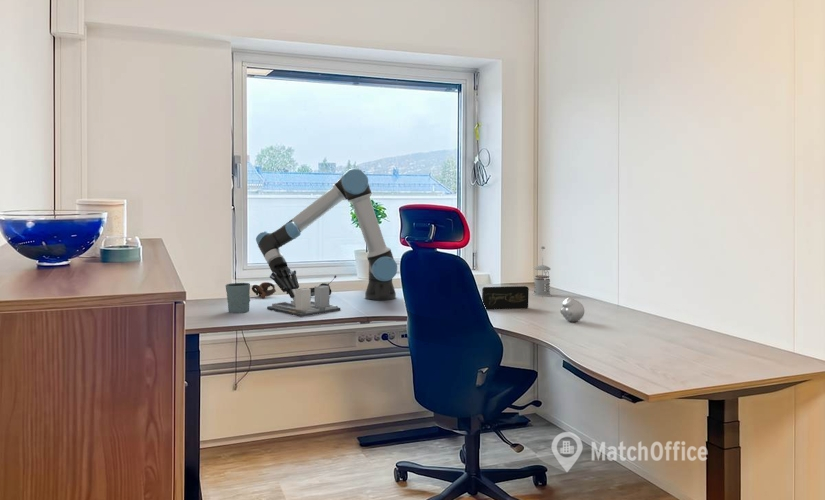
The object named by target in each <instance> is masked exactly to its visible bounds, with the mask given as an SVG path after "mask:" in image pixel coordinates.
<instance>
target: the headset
mask: <svg viewBox="0 0 825 500" xmlns="http://www.w3.org/2000/svg"><path fill="white" fill-rule="evenodd" d="M334 279H337V275H334V276H333V279H332V280H331V281H330V282H329V283H326V282H324V283H320V284H319V285H318V286H329V296H331V294H332V289H331V286H330V284H331V283H332V282H333V280H334ZM308 288H309V289H311V297H315V287H308Z"/></svg>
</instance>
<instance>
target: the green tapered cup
mask: <svg viewBox="0 0 825 500" xmlns="http://www.w3.org/2000/svg"><path fill="white" fill-rule="evenodd" d="M250 289H251V284H250V282H233V283H232V282H231V283H227V284H225V290H226V297H227V298H226V300H227V309H228V313H229V314H246V313H249V312H250V299H251V298H250V292H251V291H250Z"/></svg>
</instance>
